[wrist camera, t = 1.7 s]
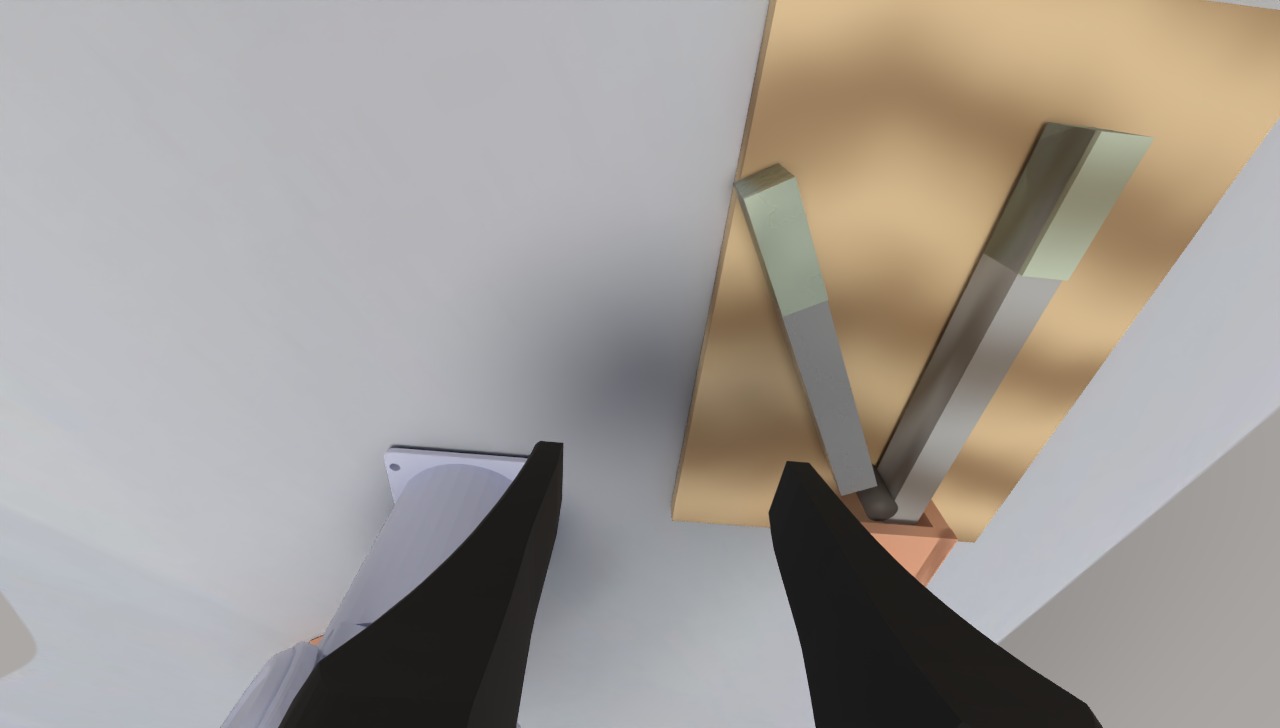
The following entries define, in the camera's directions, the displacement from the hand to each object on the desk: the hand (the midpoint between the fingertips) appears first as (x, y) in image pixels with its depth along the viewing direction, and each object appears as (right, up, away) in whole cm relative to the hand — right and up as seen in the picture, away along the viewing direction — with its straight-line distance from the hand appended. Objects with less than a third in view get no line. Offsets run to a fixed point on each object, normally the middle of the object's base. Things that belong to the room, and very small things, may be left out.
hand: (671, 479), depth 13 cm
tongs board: (+11, +5, +8) cm, 14 cm away
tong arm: (+6, +4, +7) cm, 10 cm away
